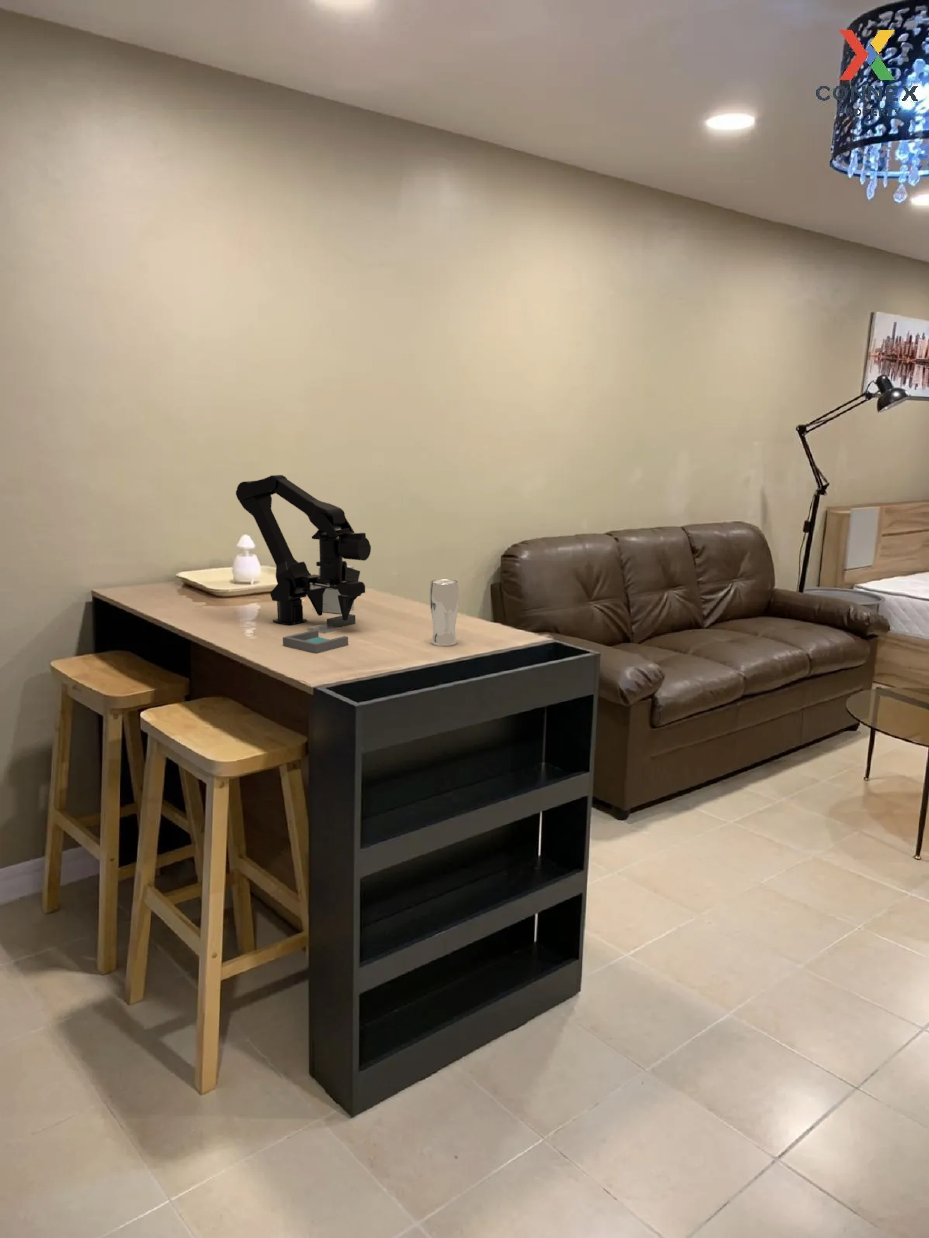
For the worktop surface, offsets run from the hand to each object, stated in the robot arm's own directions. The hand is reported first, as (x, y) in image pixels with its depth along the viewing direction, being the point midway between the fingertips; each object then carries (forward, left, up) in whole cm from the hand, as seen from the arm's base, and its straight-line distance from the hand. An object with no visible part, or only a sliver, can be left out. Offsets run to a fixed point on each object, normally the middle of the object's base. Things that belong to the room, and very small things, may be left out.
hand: (332, 617), depth 230 cm
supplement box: (-14, +16, -3) cm, 21 cm away
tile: (+10, -15, -3) cm, 18 cm away
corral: (+11, -15, -2) cm, 18 cm away
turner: (0, +1, -3) cm, 3 cm away
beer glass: (+33, +6, -3) cm, 33 cm away
